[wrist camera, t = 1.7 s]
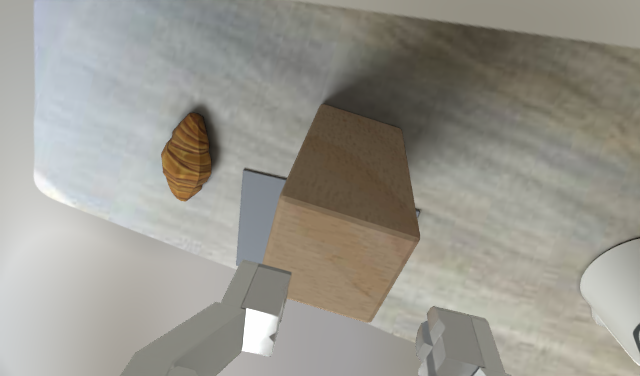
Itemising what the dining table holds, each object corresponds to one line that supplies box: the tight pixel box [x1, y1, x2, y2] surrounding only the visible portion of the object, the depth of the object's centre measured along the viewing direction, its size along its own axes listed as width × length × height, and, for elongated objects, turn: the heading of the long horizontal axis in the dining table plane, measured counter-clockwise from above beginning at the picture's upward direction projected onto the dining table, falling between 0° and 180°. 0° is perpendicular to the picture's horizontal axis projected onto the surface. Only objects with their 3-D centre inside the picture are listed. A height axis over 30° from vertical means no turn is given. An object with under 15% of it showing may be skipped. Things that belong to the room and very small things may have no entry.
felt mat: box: [236, 169, 419, 266], centre depth 50 cm, size 24×18×1 cm
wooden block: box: [262, 104, 420, 323], centre depth 33 cm, size 10×10×20 cm
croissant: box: [161, 113, 211, 201], centre depth 44 cm, size 14×7×5 cm, turn 161°
